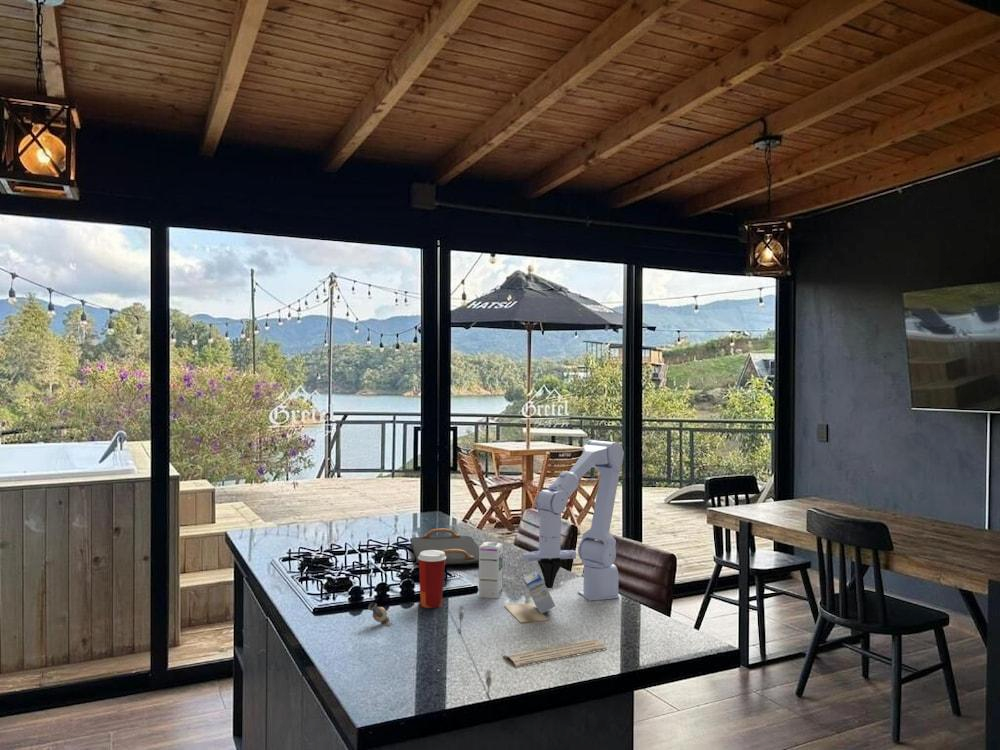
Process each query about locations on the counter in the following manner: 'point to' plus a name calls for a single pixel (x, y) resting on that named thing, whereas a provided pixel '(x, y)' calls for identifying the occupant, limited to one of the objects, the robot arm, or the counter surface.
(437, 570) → the paper cup
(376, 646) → the counter surface
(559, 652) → the tan ridged strip
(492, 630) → the counter surface
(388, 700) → the counter surface
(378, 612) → the vase
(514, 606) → the cork mat
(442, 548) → the serving board
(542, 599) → the medicine box
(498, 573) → the syrup box
